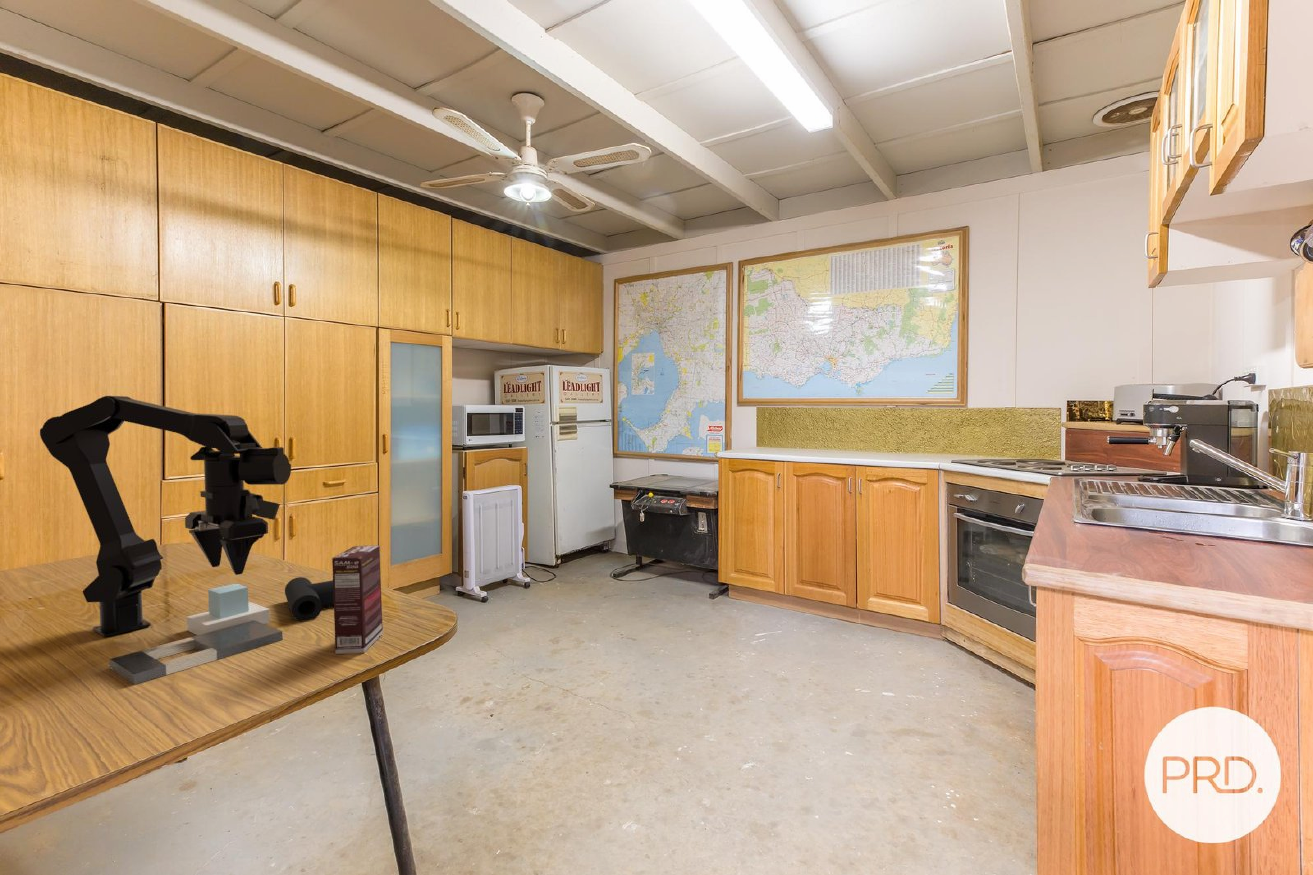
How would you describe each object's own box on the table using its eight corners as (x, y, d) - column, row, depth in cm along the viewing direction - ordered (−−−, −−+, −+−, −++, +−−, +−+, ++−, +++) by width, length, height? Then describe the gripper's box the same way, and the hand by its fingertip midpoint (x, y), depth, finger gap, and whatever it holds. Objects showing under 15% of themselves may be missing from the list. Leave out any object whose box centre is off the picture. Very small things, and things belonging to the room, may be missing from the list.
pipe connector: (346, 569, 130) (358, 585, 117) (347, 593, 130) (360, 611, 118) (284, 578, 123) (290, 597, 111) (285, 604, 123) (292, 625, 111)
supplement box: (355, 635, 105) (353, 545, 104) (383, 634, 105) (381, 544, 105) (332, 655, 96) (330, 557, 96) (364, 654, 97) (361, 556, 96)
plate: (109, 668, 91) (109, 659, 91) (254, 628, 108) (254, 620, 108) (134, 684, 86) (133, 674, 86) (282, 639, 103) (282, 631, 103)
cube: (209, 614, 108) (208, 589, 108) (237, 607, 112) (236, 583, 112) (220, 618, 106) (219, 593, 106) (248, 611, 110) (247, 587, 109)
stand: (187, 630, 107) (186, 616, 107) (249, 614, 115) (249, 601, 115) (206, 639, 103) (206, 625, 103) (270, 622, 111) (269, 609, 111)
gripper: (297, 484, 110) (299, 568, 110) (249, 477, 120) (251, 554, 120) (228, 490, 100) (231, 582, 101) (182, 483, 110) (185, 566, 111)
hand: (227, 570), depth 109 cm, fingers open, 9 cm apart
